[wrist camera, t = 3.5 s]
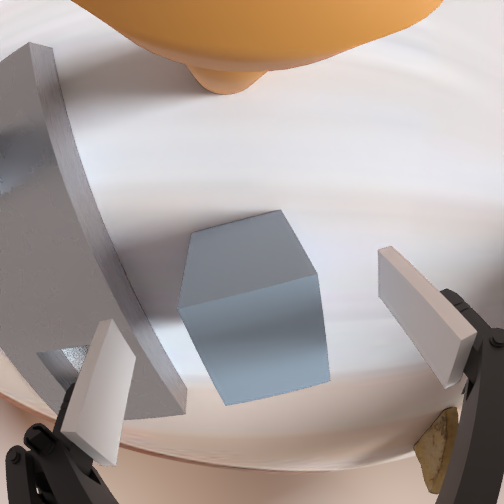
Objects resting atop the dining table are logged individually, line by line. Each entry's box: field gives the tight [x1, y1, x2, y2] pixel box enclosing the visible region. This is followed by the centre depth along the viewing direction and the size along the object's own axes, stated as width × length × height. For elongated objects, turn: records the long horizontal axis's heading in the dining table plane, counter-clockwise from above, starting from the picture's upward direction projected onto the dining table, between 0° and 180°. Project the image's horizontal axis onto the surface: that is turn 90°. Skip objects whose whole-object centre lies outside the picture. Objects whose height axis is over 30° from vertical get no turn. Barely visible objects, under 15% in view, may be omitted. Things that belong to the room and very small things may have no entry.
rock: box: [414, 407, 459, 494], centre depth 30 cm, size 11×9×10 cm
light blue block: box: [178, 210, 330, 406], centre depth 15 cm, size 6×5×7 cm
